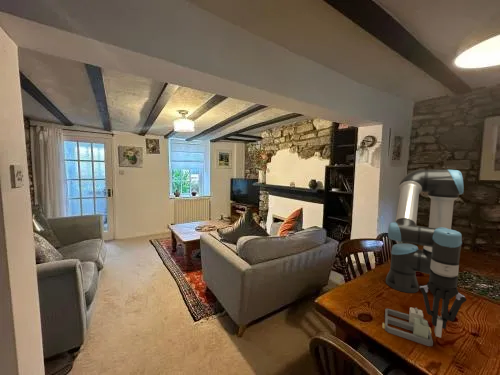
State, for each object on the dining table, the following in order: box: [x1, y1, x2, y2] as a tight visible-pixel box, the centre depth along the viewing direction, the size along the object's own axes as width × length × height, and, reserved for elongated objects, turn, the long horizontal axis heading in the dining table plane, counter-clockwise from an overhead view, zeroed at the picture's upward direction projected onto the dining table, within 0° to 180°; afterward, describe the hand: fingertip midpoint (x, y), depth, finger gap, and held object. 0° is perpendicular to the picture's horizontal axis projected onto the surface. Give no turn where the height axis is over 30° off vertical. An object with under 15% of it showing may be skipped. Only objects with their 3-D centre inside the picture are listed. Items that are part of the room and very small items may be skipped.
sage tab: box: [412, 317, 430, 339], centre depth 84 cm, size 4×4×7 cm
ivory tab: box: [408, 306, 424, 324], centre depth 90 cm, size 4×4×7 cm
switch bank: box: [381, 308, 434, 347], centre depth 89 cm, size 14×17×3 cm
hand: (437, 334), depth 81 cm, fingers closed
